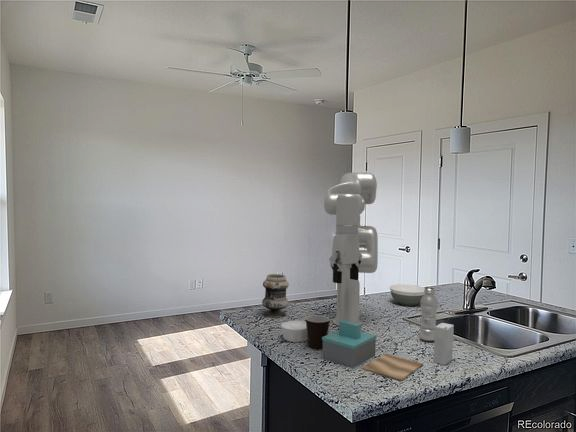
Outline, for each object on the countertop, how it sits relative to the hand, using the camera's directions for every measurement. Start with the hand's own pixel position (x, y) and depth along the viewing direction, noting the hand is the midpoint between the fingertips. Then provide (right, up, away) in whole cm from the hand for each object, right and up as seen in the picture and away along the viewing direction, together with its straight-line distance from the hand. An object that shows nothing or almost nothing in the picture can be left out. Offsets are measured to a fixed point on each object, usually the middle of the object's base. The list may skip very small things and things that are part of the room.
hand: (345, 281), depth 140 cm
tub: (+1, -25, 0) cm, 25 cm away
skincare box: (+32, -26, -3) cm, 41 cm away
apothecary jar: (-25, -23, +49) cm, 60 cm away
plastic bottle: (+34, -26, +18) cm, 46 cm away
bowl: (+42, -23, +74) cm, 88 cm away
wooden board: (+14, -26, -9) cm, 31 cm away
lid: (+1, -19, -1) cm, 19 cm away
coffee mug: (-8, -25, +10) cm, 28 cm away
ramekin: (-17, -25, +18) cm, 35 cm away
